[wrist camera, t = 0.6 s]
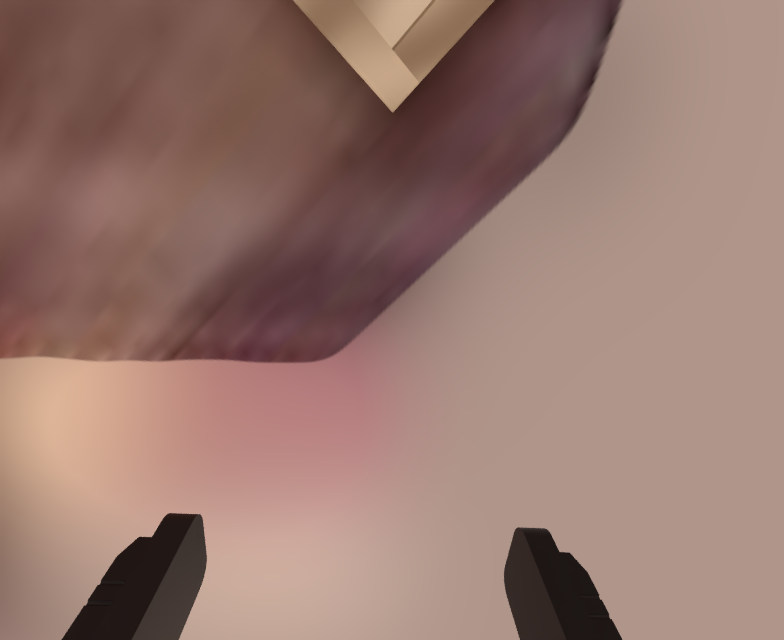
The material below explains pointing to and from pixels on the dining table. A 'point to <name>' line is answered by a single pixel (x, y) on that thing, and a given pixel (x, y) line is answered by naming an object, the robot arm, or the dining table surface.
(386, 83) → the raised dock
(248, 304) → the dining table surface
